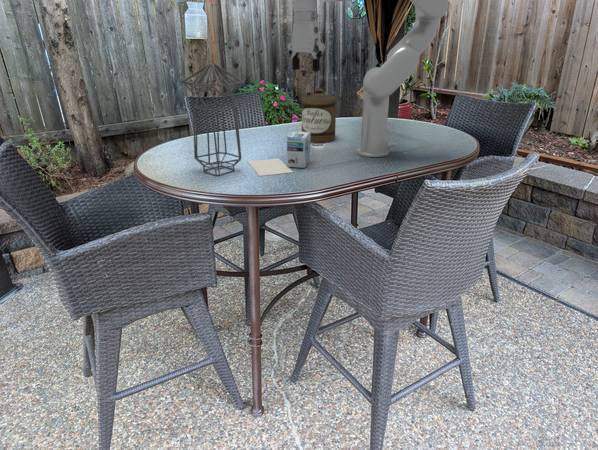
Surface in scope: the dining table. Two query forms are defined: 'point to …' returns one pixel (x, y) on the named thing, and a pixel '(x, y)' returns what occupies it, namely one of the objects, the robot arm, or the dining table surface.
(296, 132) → the light bulb box
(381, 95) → the robot arm
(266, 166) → the mat
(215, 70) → the geometric lantern
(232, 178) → the dining table surface
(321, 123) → the wooden container
